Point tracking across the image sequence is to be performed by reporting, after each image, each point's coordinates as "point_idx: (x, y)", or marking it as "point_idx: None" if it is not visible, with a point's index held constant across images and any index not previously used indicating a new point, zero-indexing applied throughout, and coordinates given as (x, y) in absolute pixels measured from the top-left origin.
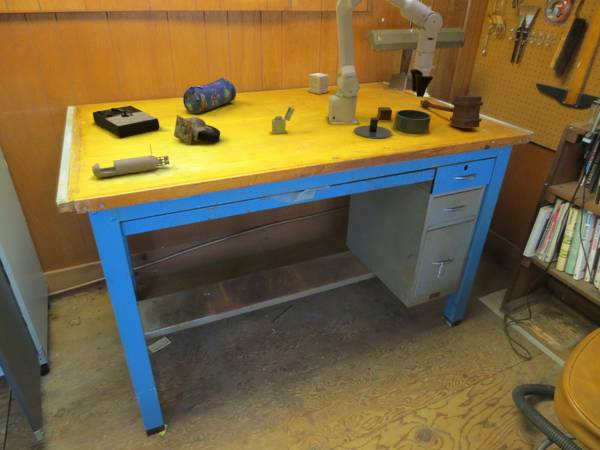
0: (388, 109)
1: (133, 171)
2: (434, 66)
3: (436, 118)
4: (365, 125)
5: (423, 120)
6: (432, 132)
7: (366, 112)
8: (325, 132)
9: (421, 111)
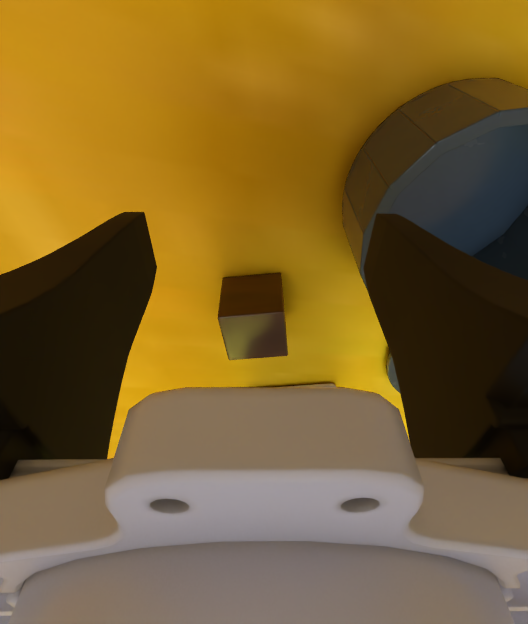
0: (268, 325)
1: None
2: (269, 486)
3: None
4: (389, 375)
5: None
6: (515, 37)
7: (150, 347)
8: (409, 441)
9: (418, 166)
